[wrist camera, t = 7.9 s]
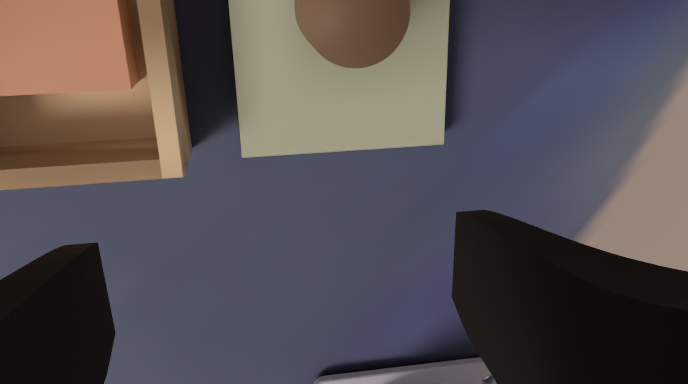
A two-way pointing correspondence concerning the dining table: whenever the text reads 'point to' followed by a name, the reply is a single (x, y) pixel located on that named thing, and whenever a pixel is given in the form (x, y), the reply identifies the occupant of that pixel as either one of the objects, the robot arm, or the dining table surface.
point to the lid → (339, 74)
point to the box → (105, 120)
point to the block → (66, 46)
